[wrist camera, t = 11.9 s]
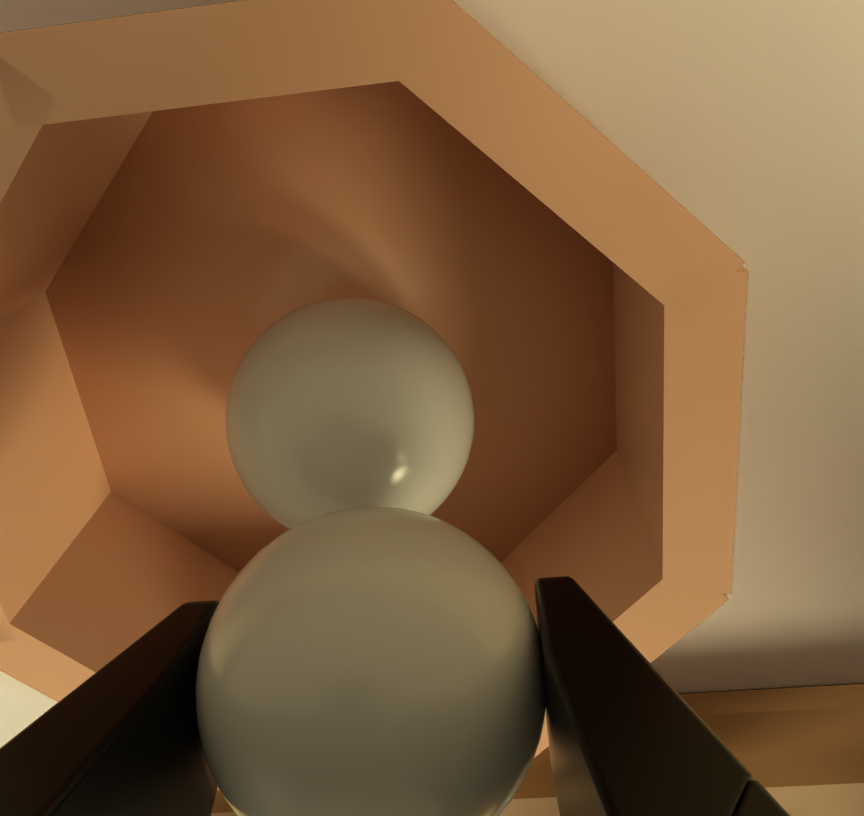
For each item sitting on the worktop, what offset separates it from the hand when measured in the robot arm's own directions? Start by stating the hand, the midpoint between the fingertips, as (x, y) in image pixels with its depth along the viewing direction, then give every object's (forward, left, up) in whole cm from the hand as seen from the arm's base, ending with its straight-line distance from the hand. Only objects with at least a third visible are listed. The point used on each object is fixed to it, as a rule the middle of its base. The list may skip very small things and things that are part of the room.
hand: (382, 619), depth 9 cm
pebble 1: (+1, -1, -3) cm, 3 cm away
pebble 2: (0, 0, +1) cm, 1 cm away
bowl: (+1, -1, -6) cm, 6 cm away
